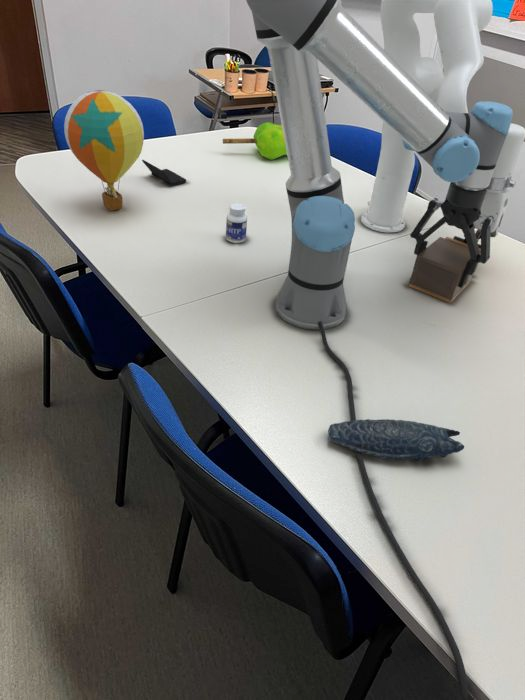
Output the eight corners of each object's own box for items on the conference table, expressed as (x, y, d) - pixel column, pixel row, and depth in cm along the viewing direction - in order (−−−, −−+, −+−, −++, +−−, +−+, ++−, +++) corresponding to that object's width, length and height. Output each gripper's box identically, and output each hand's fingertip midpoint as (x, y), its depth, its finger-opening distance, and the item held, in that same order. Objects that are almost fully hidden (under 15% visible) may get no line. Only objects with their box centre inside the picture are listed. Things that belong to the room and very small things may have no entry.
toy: (64, 203, 145) (44, 85, 127) (127, 189, 156) (117, 79, 137) (97, 229, 134) (80, 105, 116) (162, 213, 145) (156, 96, 126)
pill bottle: (222, 240, 135) (223, 208, 129) (230, 232, 139) (231, 200, 133) (241, 244, 134) (243, 212, 128) (248, 236, 138) (250, 204, 132)
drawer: (448, 251, 138) (455, 229, 134) (482, 263, 134) (491, 241, 130) (420, 275, 126) (427, 252, 122) (457, 290, 122) (465, 266, 118)
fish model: (462, 473, 80) (472, 452, 77) (326, 456, 81) (331, 434, 78) (454, 441, 86) (463, 420, 82) (327, 425, 86) (331, 403, 83)
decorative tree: (219, 118, 187) (300, 118, 192) (219, 148, 194) (297, 147, 199) (226, 133, 174) (312, 132, 179) (226, 164, 180) (309, 163, 185)
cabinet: (430, 266, 133) (439, 236, 127) (470, 281, 128) (481, 251, 123) (408, 286, 124) (417, 254, 119) (450, 303, 119) (461, 271, 114)
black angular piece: (190, 175, 164) (173, 153, 156) (179, 193, 163) (161, 172, 155) (166, 170, 170) (147, 148, 162) (155, 188, 169) (136, 167, 161)
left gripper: (530, 195, 105) (492, 288, 119) (425, 165, 115) (401, 253, 129) (519, 206, 100) (481, 301, 114) (411, 173, 111) (387, 264, 124)
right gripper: (528, 185, 119) (501, 257, 131) (466, 168, 126) (445, 238, 138) (518, 194, 115) (490, 267, 126) (454, 176, 122) (433, 247, 133)
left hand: (439, 276), depth 122 cm, fingers closed on cabinet, 11 cm apart
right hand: (467, 252), depth 132 cm, fingers closed
